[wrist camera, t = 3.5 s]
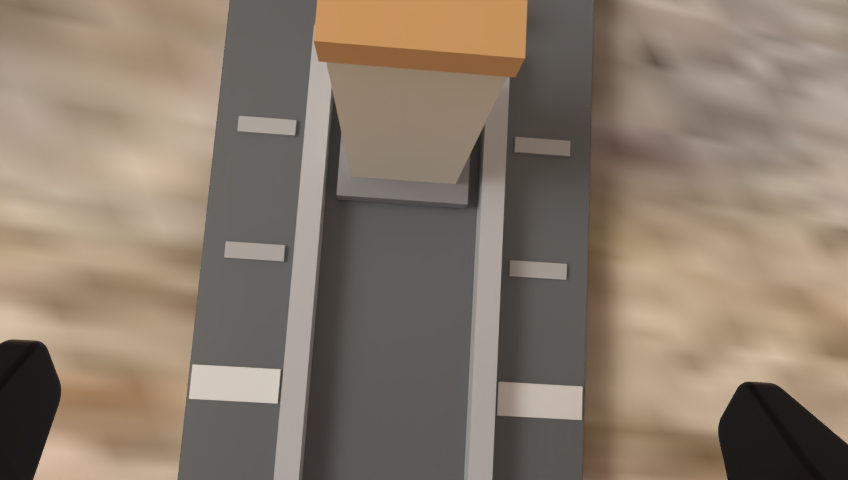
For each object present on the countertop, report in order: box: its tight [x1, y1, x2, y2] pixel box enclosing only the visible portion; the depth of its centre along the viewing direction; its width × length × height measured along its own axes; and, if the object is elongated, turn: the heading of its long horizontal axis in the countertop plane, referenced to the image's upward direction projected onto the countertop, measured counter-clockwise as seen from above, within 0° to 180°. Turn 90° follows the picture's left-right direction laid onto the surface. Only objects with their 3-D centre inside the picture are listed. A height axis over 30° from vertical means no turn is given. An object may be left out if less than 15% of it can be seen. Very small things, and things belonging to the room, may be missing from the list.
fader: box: [314, 0, 527, 209], centre depth 16 cm, size 4×4×10 cm
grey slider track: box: [178, 0, 594, 480], centre depth 20 cm, size 24×12×3 cm, turn 177°
